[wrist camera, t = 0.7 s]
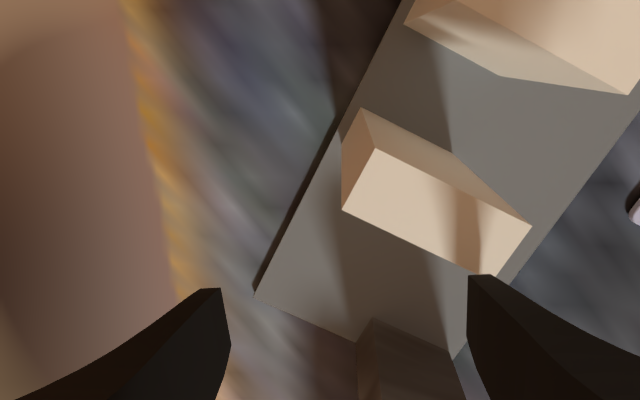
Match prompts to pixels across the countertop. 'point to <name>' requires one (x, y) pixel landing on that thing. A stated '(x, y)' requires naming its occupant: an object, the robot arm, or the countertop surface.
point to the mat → (472, 150)
